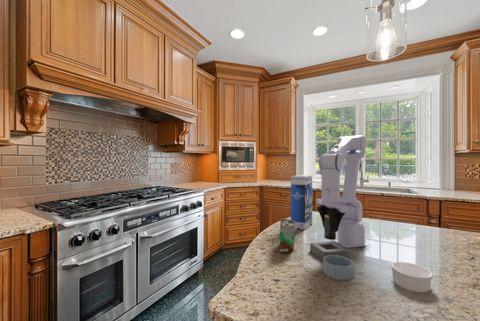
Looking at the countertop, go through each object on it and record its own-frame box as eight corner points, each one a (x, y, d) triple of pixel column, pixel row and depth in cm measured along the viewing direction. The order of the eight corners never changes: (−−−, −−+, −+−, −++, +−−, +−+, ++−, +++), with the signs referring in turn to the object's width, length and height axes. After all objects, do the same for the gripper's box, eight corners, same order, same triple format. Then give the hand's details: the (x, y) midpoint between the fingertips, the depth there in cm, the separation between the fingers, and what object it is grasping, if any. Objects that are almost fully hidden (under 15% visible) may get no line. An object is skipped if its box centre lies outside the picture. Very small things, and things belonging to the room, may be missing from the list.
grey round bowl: (340, 265, 73) (340, 254, 73) (359, 278, 65) (359, 265, 65) (317, 267, 71) (317, 256, 71) (334, 281, 63) (334, 268, 63)
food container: (297, 256, 79) (297, 227, 79) (279, 255, 80) (279, 226, 80) (296, 244, 91) (296, 218, 91) (280, 242, 92) (280, 218, 92)
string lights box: (304, 230, 109) (305, 176, 110) (289, 227, 114) (289, 175, 114) (312, 224, 121) (312, 175, 121) (298, 222, 125) (298, 174, 125)
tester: (331, 249, 86) (331, 240, 86) (348, 259, 77) (348, 249, 77) (310, 251, 84) (310, 242, 84) (324, 261, 75) (324, 251, 75)
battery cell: (331, 236, 79) (331, 212, 79) (338, 239, 76) (338, 215, 76) (322, 236, 79) (322, 213, 79) (328, 240, 75) (328, 215, 75)
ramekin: (435, 298, 55) (435, 280, 55) (391, 287, 60) (391, 271, 60) (429, 282, 63) (429, 266, 63) (390, 273, 67) (390, 259, 67)
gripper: (308, 187, 84) (308, 224, 83) (333, 192, 69) (333, 237, 69) (326, 186, 85) (325, 223, 85) (353, 191, 71) (353, 235, 71)
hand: (330, 229), depth 77 cm, fingers closed on battery cell, 4 cm apart
